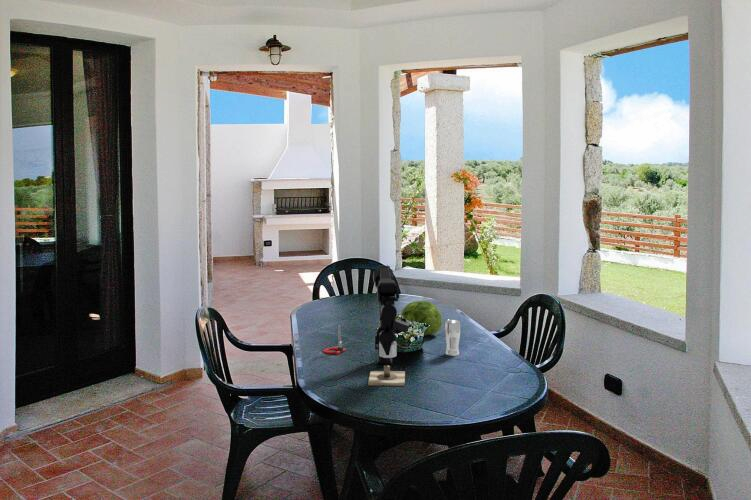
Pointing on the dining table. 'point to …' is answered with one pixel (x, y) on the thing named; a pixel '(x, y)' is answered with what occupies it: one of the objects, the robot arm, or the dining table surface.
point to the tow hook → (340, 348)
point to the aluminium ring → (392, 350)
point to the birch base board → (394, 380)
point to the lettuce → (424, 315)
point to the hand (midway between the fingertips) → (387, 352)
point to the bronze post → (386, 371)
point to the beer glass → (452, 337)
